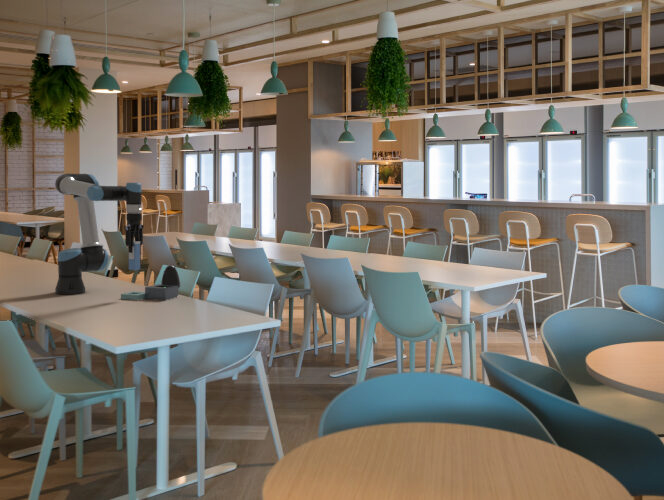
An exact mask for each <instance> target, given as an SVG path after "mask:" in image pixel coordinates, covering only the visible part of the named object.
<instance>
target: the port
mask: <svg viewBox="0 0 664 500" xmlns="http://www.w3.org/2000/svg"><path fill="white" fill-rule="evenodd" d="M144 292H145V298H144V299H145V300H154V299H157V301H168V300H167V299H169V300H171V299H170V298H172V299H175V298H174V297H176V298H178V297H179V291H178V286H177V285H162V284H161V283H160V284H159V283H157V284H153V285H148V286H144ZM177 296H178V297H177Z"/></svg>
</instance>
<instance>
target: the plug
mask: <svg viewBox="0 0 664 500" xmlns="http://www.w3.org/2000/svg"><path fill="white" fill-rule="evenodd" d="M140 242H141V241H135V240H134V243H133V246H134V259H129V258H128V270H130V271H138V270H141V246H140Z"/></svg>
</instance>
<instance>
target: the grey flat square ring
mask: <svg viewBox="0 0 664 500" xmlns="http://www.w3.org/2000/svg"><path fill="white" fill-rule="evenodd" d="M120 299H121V300H132V301H140V300H144V299H145V291H144V292H143V291H130V292H125V293H121V294H120Z"/></svg>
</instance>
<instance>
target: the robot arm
mask: <svg viewBox="0 0 664 500" xmlns="http://www.w3.org/2000/svg"><path fill="white" fill-rule="evenodd" d="M54 186H55V189H56V191H57V192H59V194H62V195H65V196H68V195H69V196H73V200H74V201H76V204H77V210H78V218H79V226H80V233H81V240H82V245H81V247H80V248H79V247H78V248H77V247H74V248H65V249H62V250H60V251H59V252H58V255H57V272H58V280H57V283H56V285H55V289H54V292H55V294H57V295H77V294H79V295H80V294H83V293H86V287H85V283H84V281H83V278H82V277H83V275H82V273H85V272H86V273H87V272H97V271H102V270H104V269H105V268H107V266H108V263H109V252H108V251H107V249H105V248H104V247H103V245H102V244H101V243H100V239H99V238H100V237H99V230H98V225H97V223H98V222H97V216H96V209H95V202H107V201H108V202H112V201H113V202H126V203H125V205H126V206H125V208H126V216H125V218H126V221H128V222H127V225H124V232H125V233H124V235H125V238H124V239H125V240H124V241H125V246H126V247H128V260H129V259H134V246H133V243H134V241H140V247H141V246H142V245H143V243H144V241H143V239H144V236H143V235H144V233H143V232H144V224H141V221H142V220H143V219H142V218H143V214H142V208H143V207H142V205H143V204H142V203H143V202H142V201H143V200H142V199H143V198H142V197H143V196H142V195H143V190H142V184H141V182H127V183H126V184H125V185H100V184H99V180H98V178H97V177H96V176H95V175H93V174H89V173H63V174H61V175H59V176H58V177H57V178H56V179H55V183H54ZM94 201H95V202H94Z"/></svg>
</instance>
